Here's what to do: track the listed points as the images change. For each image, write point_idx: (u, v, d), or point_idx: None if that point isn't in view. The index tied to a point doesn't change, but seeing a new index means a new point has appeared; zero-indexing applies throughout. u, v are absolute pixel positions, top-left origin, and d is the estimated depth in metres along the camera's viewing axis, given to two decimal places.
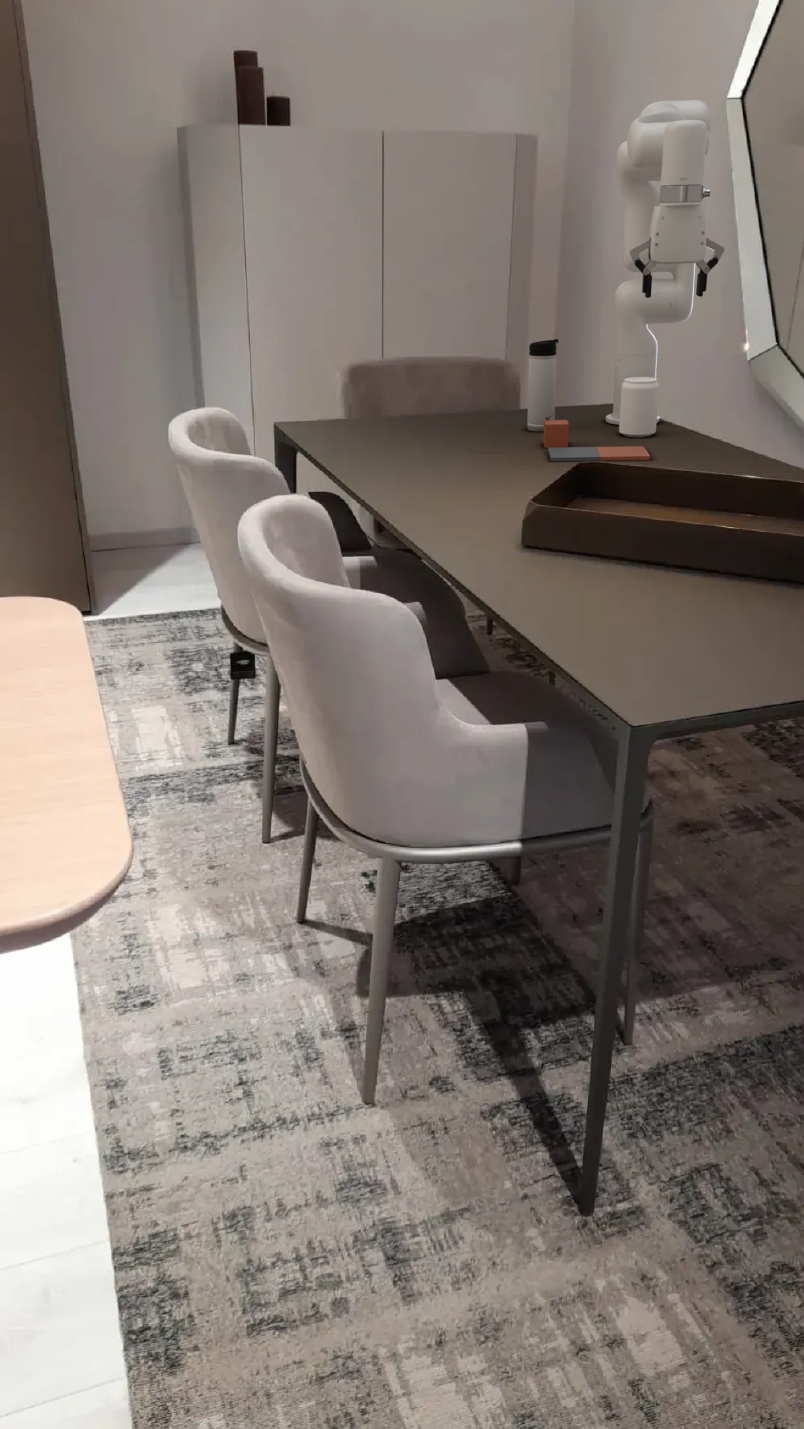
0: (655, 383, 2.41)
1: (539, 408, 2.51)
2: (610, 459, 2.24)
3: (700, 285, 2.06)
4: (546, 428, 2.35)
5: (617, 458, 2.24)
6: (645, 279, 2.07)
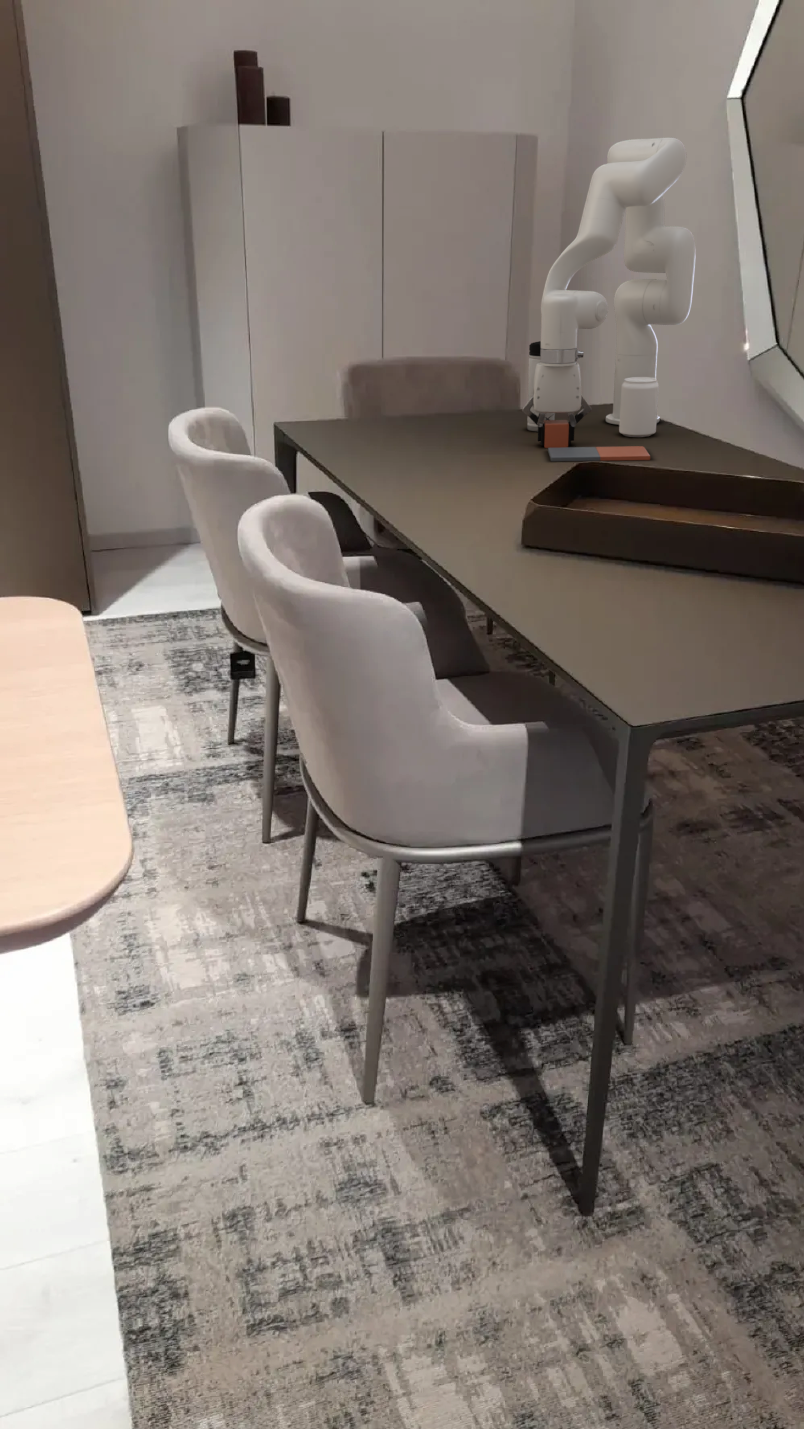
0: (655, 383, 2.41)
1: None
2: (610, 459, 2.24)
3: (568, 436, 2.37)
4: (546, 428, 2.35)
5: (617, 458, 2.24)
6: (539, 430, 2.37)
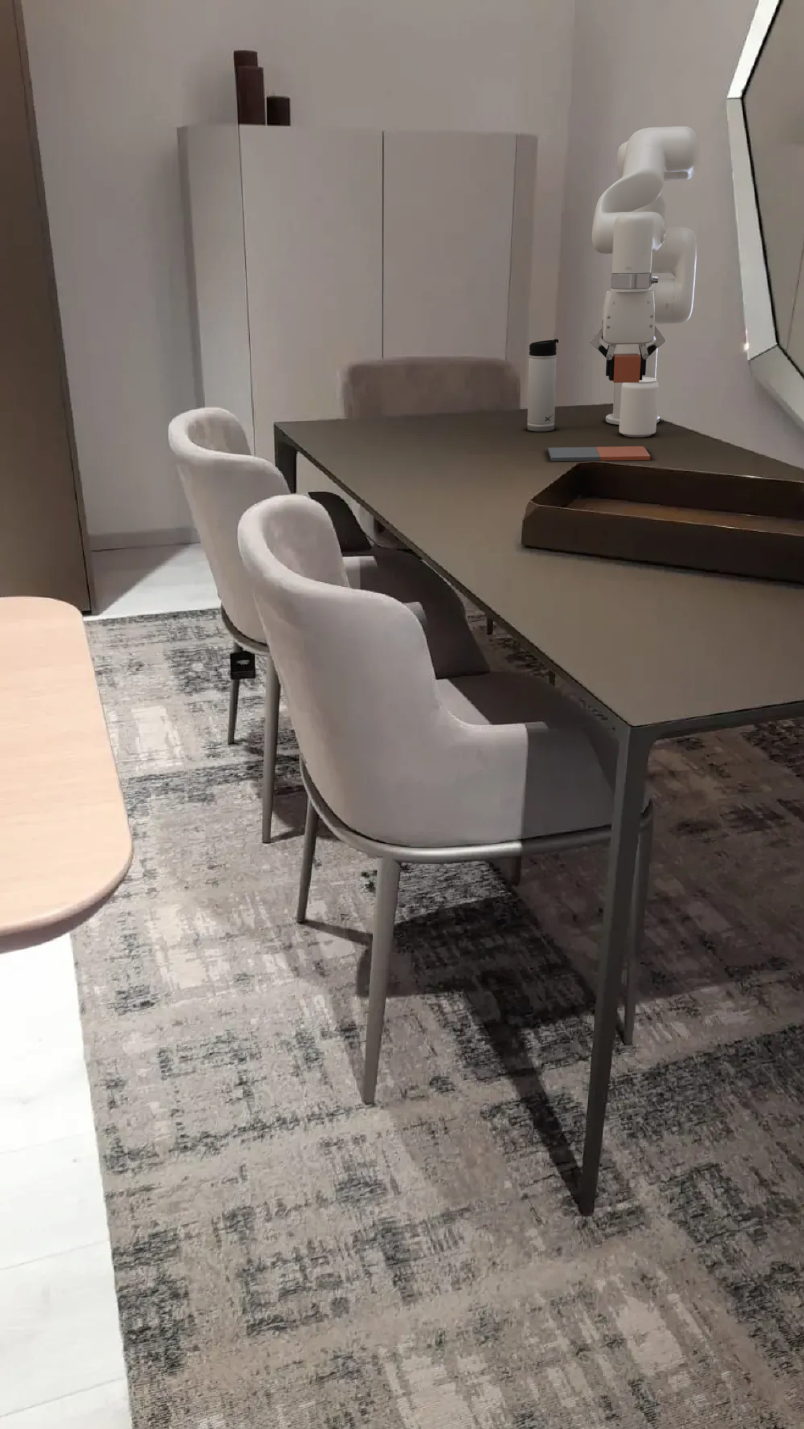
0: (655, 383, 2.41)
1: (539, 408, 2.51)
2: (610, 459, 2.24)
3: None
4: (616, 361, 2.18)
5: (617, 458, 2.24)
6: (608, 363, 2.20)
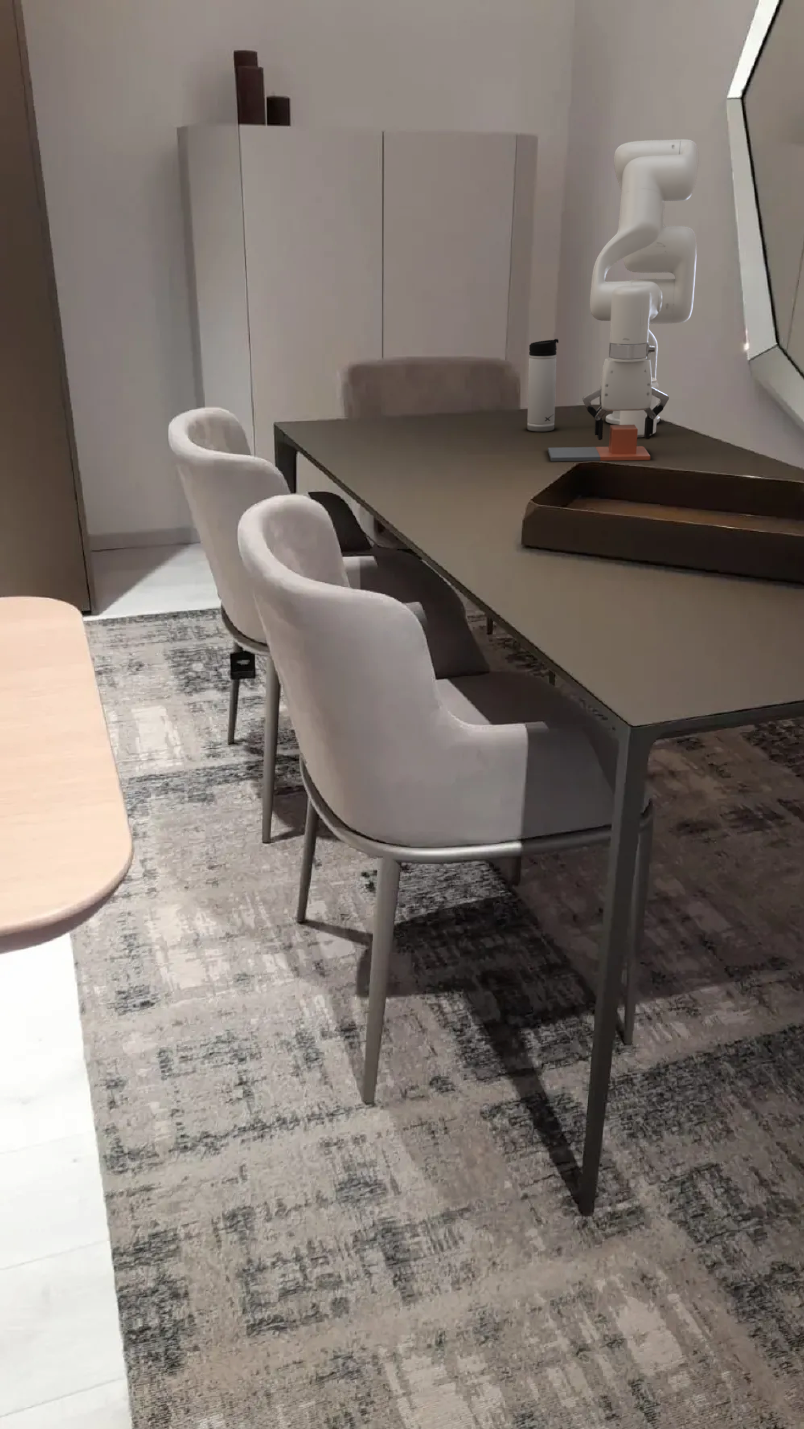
0: (655, 383, 2.41)
1: (539, 408, 2.51)
2: (610, 459, 2.24)
3: (647, 429, 2.25)
4: (614, 433, 2.24)
5: (617, 458, 2.24)
6: (597, 423, 2.25)
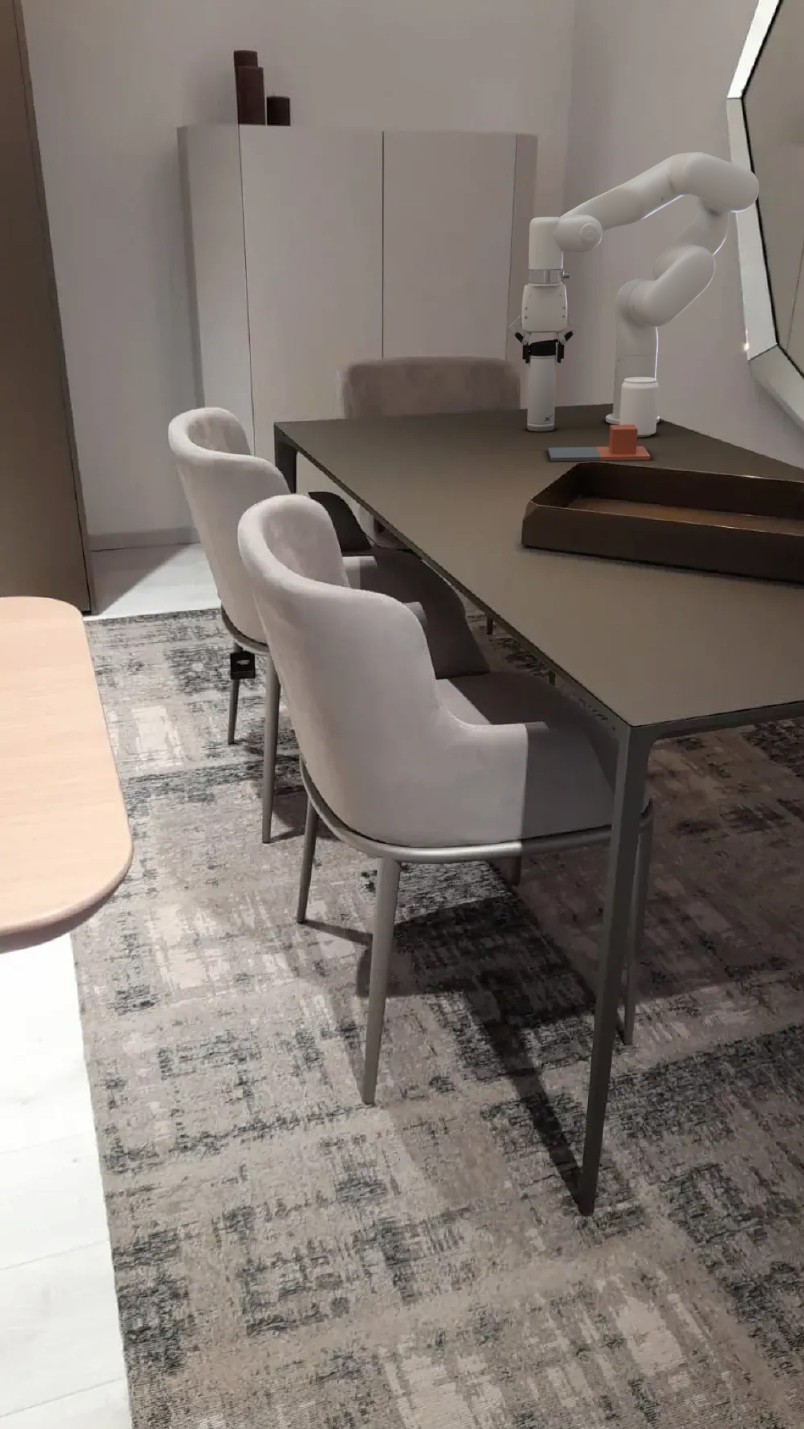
0: (655, 383, 2.41)
1: (539, 408, 2.51)
2: (610, 459, 2.24)
3: (558, 354, 2.48)
4: (614, 433, 2.24)
5: (617, 458, 2.24)
6: (524, 348, 2.48)
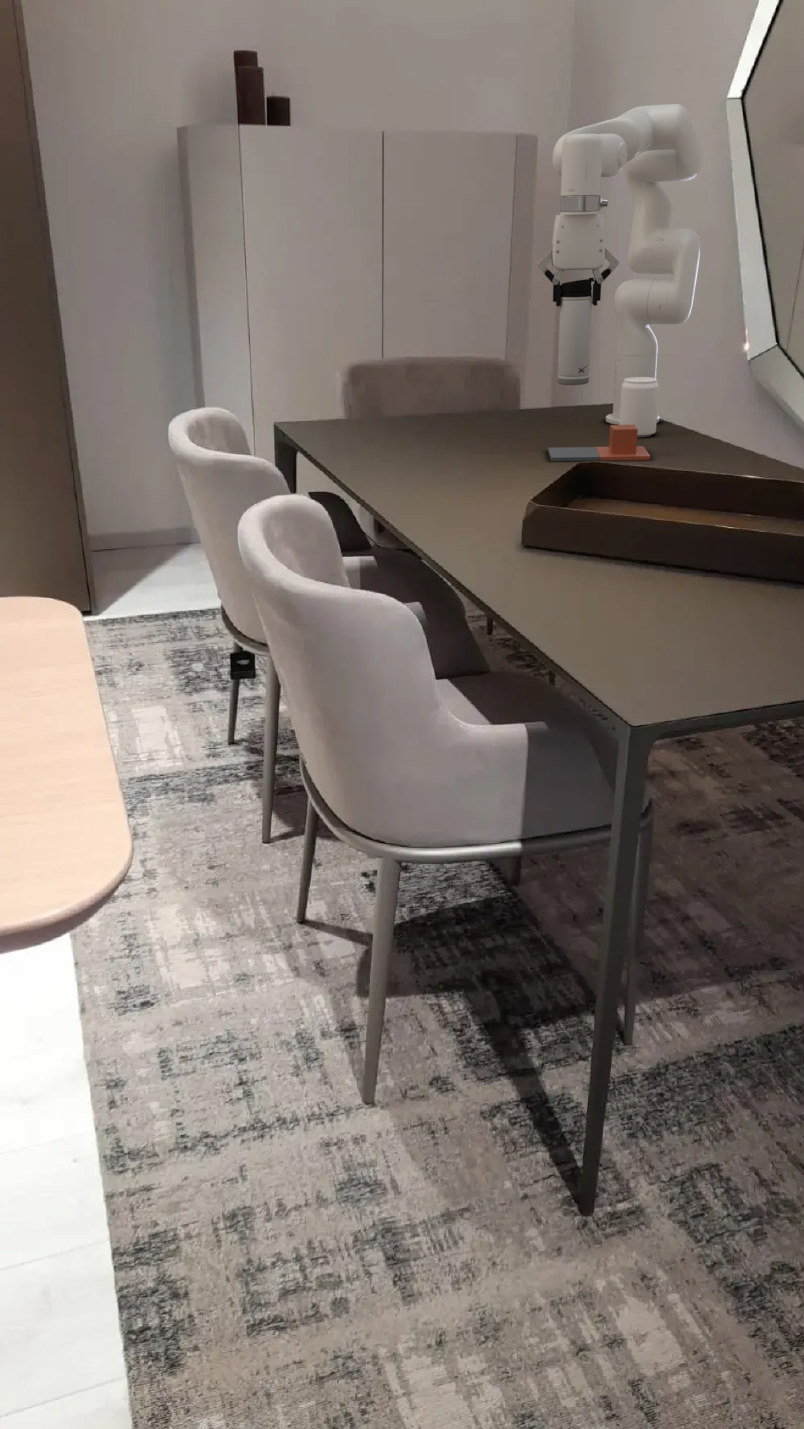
0: (655, 383, 2.41)
1: (572, 357, 2.20)
2: (610, 459, 2.24)
3: (594, 295, 2.16)
4: (614, 433, 2.24)
5: (617, 458, 2.24)
6: (555, 289, 2.17)
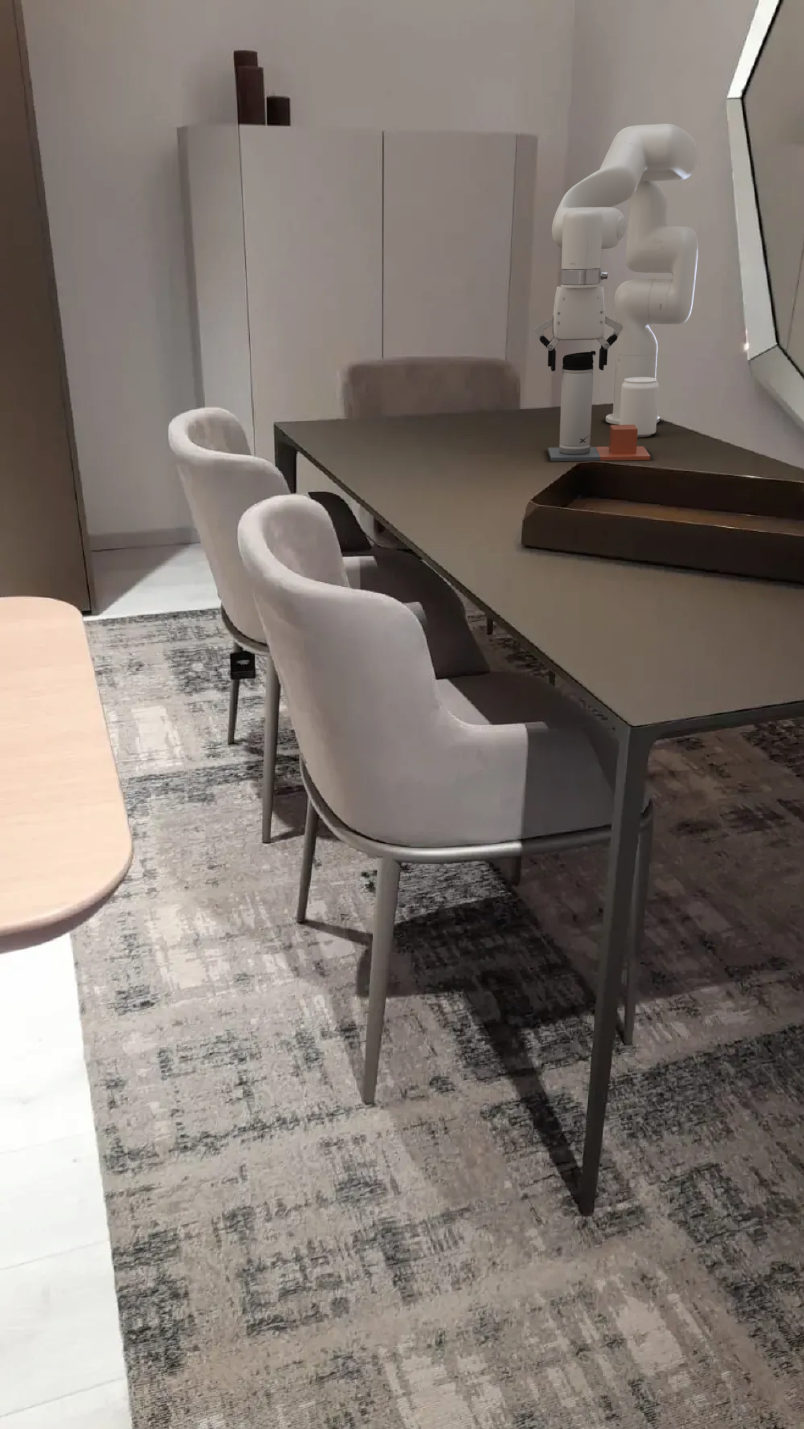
0: (655, 383, 2.41)
1: (574, 428, 2.24)
2: (610, 459, 2.24)
3: (601, 360, 2.19)
4: (614, 433, 2.24)
5: (617, 458, 2.24)
6: (549, 354, 2.20)
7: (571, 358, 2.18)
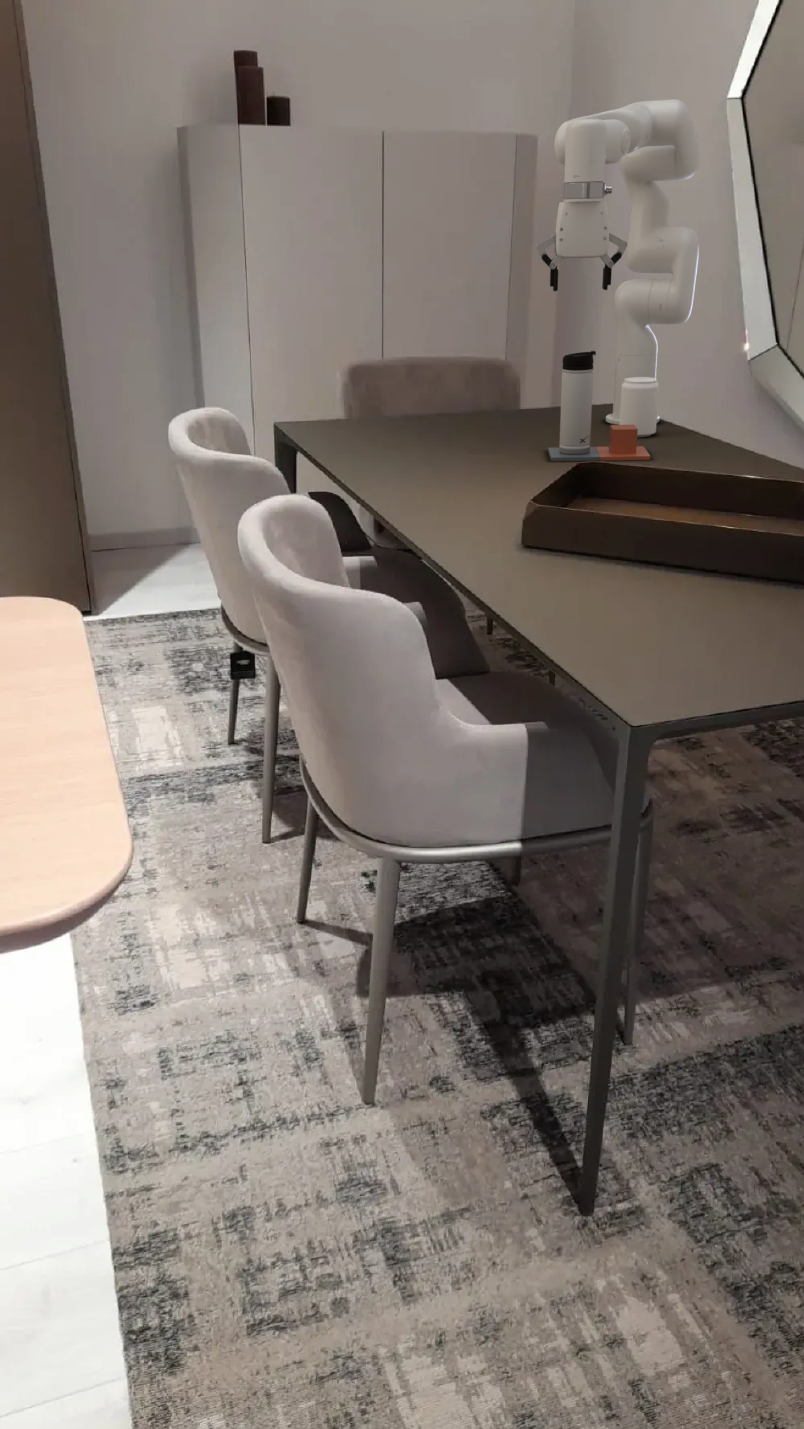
0: (655, 383, 2.41)
1: (574, 428, 2.24)
2: (610, 459, 2.24)
3: (605, 279, 2.13)
4: (614, 433, 2.24)
5: (617, 458, 2.24)
6: (552, 273, 2.14)
7: (571, 358, 2.18)
